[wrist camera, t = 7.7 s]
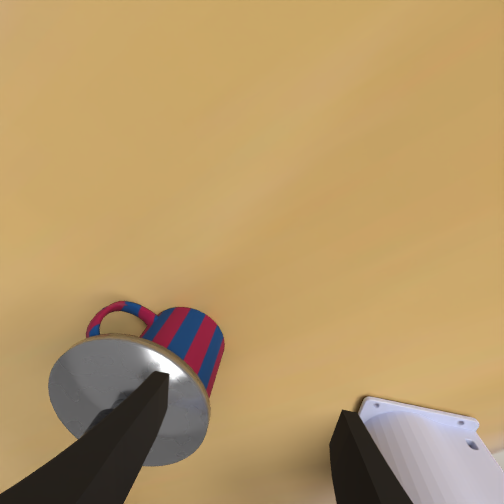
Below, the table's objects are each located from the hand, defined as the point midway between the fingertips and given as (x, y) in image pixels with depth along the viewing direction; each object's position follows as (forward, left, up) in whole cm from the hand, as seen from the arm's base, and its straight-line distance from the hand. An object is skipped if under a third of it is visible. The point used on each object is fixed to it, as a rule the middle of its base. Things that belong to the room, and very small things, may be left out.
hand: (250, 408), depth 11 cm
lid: (+7, +6, -4) cm, 10 cm away
